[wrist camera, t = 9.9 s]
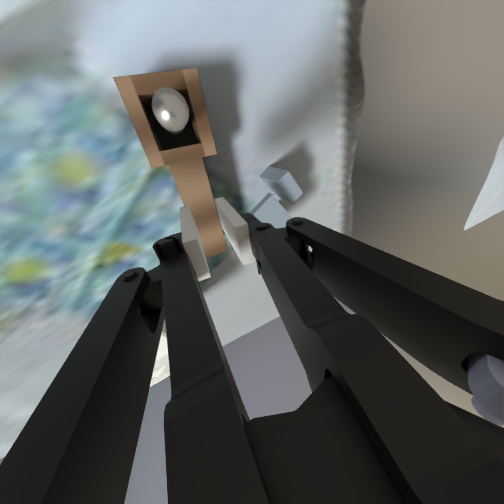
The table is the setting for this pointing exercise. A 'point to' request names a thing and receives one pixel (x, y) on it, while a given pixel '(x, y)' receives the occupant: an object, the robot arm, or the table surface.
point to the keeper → (282, 187)
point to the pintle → (170, 110)
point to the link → (181, 158)
